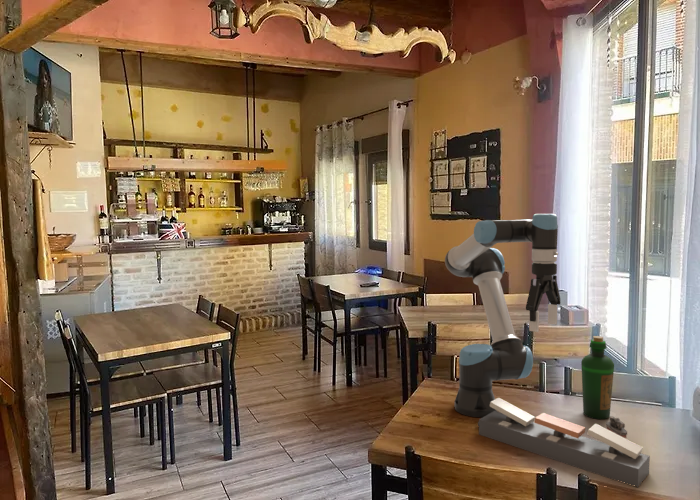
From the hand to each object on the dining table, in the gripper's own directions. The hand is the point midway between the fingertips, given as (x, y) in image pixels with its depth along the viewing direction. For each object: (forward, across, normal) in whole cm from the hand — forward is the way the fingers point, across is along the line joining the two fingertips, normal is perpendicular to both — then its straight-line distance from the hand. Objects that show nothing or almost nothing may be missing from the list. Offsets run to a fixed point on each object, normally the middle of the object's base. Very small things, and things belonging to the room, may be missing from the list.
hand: (543, 327), depth 166 cm
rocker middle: (+27, -9, -10) cm, 30 cm away
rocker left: (+27, -9, +6) cm, 29 cm away
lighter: (+35, +2, -22) cm, 41 cm away
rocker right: (+27, -9, -25) cm, 38 cm away
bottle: (+35, +26, -8) cm, 44 cm away
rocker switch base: (+35, -11, -8) cm, 37 cm away
